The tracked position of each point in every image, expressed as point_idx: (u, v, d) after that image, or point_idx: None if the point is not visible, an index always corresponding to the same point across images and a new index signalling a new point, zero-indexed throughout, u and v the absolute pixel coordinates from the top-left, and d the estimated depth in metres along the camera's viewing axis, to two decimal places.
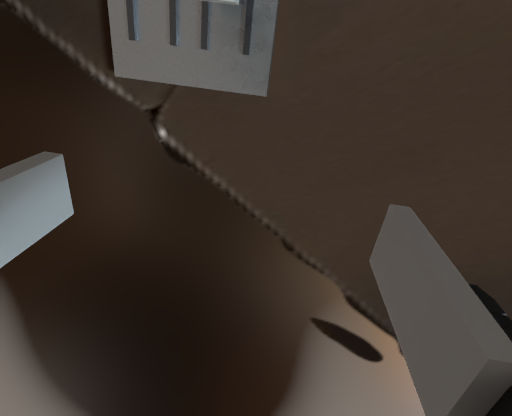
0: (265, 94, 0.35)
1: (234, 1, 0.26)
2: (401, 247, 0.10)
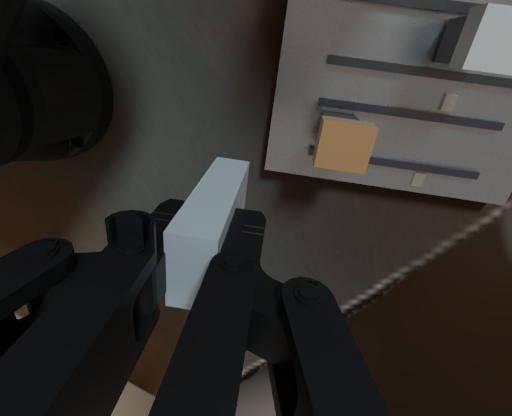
0: None
1: None
2: None
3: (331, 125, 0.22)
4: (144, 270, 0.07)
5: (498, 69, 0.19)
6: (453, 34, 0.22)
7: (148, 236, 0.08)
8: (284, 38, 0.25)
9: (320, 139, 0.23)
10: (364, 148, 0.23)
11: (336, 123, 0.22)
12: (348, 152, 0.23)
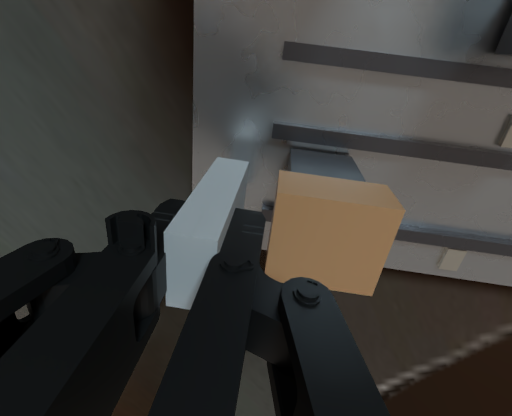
0: None
1: None
2: None
3: (295, 203, 0.10)
4: (144, 270, 0.07)
5: None
6: None
7: (148, 236, 0.08)
8: (197, 10, 0.13)
9: (273, 230, 0.10)
10: (370, 249, 0.10)
11: (306, 199, 0.10)
12: (336, 255, 0.10)
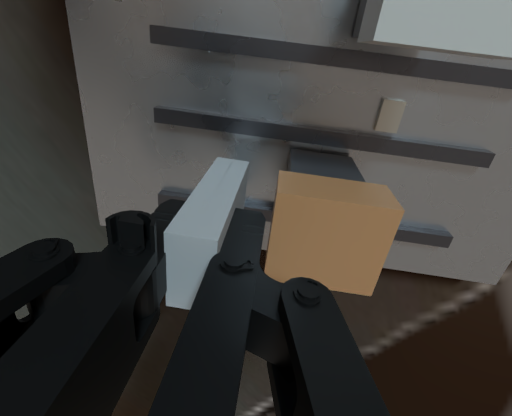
0: None
1: None
2: None
3: (294, 203, 0.10)
4: (145, 270, 0.07)
5: (469, 40, 0.07)
6: None
7: (149, 236, 0.08)
8: None
9: (272, 229, 0.10)
10: (370, 249, 0.10)
11: (306, 199, 0.10)
12: (335, 255, 0.10)
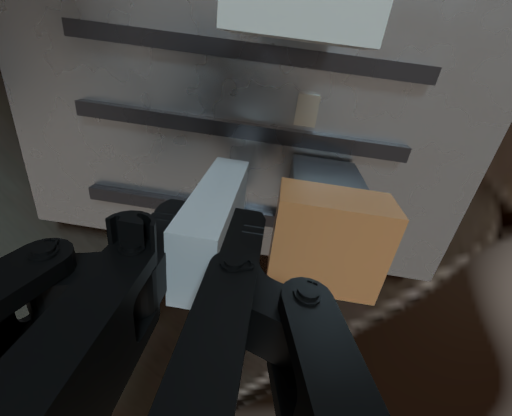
0: None
1: None
2: None
3: (297, 211, 0.10)
4: (145, 270, 0.07)
5: (307, 28, 0.07)
6: None
7: (149, 236, 0.08)
8: None
9: (275, 238, 0.10)
10: (374, 259, 0.10)
11: (308, 208, 0.09)
12: (338, 264, 0.10)
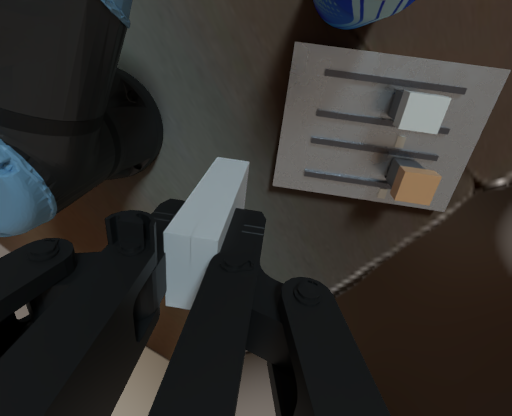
0: (508, 70, 0.33)
1: (450, 98, 0.30)
2: None
3: (410, 174, 0.34)
4: (144, 270, 0.07)
5: (420, 129, 0.31)
6: (397, 101, 0.34)
7: (148, 236, 0.08)
8: (287, 98, 0.37)
9: (401, 183, 0.34)
10: (430, 189, 0.34)
11: (413, 173, 0.33)
12: (419, 191, 0.34)
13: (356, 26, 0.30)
